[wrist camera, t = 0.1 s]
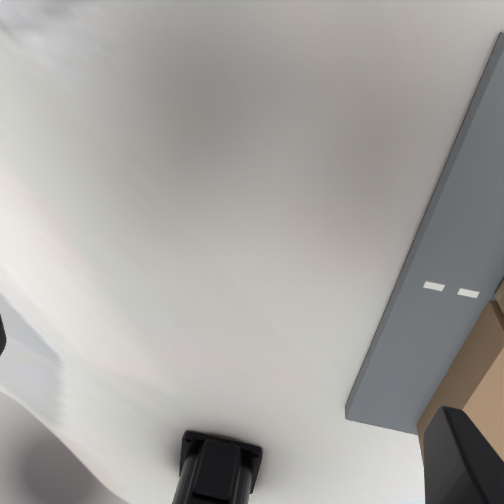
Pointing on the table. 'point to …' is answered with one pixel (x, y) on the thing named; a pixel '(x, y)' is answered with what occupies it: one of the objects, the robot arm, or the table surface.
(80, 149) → the table surface
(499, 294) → the stub
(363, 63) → the table surface
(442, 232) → the board
